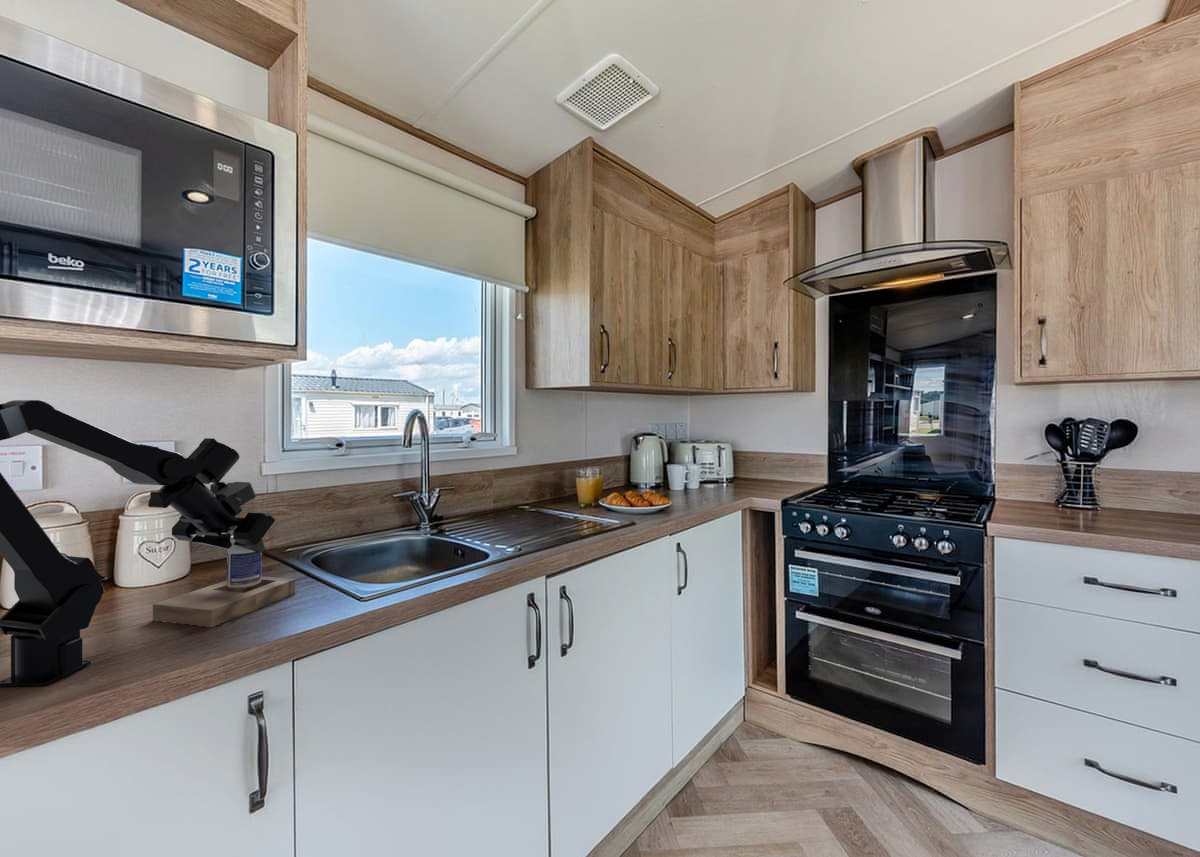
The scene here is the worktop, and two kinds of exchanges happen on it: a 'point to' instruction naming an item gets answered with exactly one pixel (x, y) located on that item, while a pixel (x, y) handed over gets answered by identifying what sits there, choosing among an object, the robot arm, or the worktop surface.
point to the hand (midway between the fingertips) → (250, 549)
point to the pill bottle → (243, 567)
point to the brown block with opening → (221, 602)
